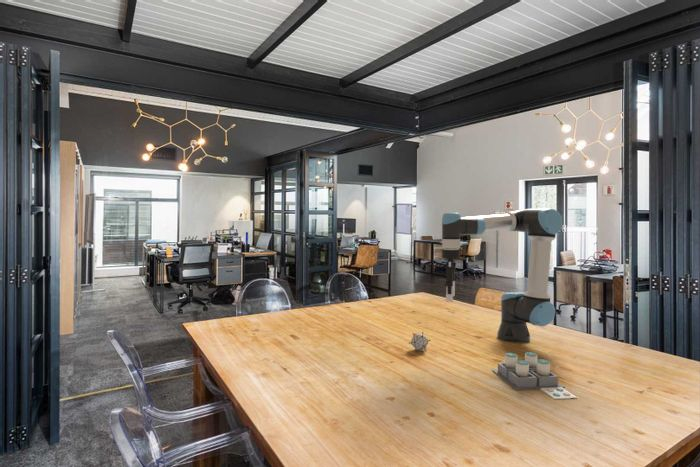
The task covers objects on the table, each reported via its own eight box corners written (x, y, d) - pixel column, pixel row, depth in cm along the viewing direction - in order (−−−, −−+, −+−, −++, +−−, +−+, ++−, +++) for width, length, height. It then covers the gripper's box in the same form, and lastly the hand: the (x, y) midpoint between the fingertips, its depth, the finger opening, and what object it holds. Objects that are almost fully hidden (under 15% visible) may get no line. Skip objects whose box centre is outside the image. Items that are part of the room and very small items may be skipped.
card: (561, 388, 141) (561, 386, 141) (577, 398, 133) (577, 396, 133) (540, 389, 140) (540, 387, 140) (554, 399, 132) (554, 397, 132)
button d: (533, 364, 156) (533, 351, 156) (539, 368, 151) (539, 355, 151) (522, 364, 155) (522, 352, 155) (528, 368, 151) (528, 356, 151)
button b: (513, 364, 155) (513, 352, 155) (519, 368, 151) (519, 356, 150) (502, 365, 155) (502, 352, 154) (508, 369, 150) (508, 356, 150)
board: (535, 369, 159) (535, 360, 159) (564, 388, 141) (564, 378, 141) (492, 370, 157) (492, 361, 157) (515, 390, 139) (516, 380, 139)
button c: (545, 371, 148) (545, 358, 148) (552, 376, 144) (552, 363, 143) (533, 372, 147) (534, 359, 147) (540, 376, 143) (541, 363, 143)
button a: (524, 372, 147) (524, 359, 147) (531, 377, 143) (531, 363, 143) (513, 373, 147) (513, 360, 146) (519, 377, 142) (519, 364, 142)
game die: (423, 359, 180) (430, 346, 174) (405, 351, 182) (411, 338, 176) (427, 345, 187) (433, 331, 181) (409, 337, 189) (416, 324, 183)
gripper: (444, 246, 184) (443, 292, 184) (439, 251, 160) (438, 303, 161) (461, 247, 181) (460, 293, 182) (458, 251, 158) (458, 305, 158)
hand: (450, 298), depth 171 cm, fingers open, 13 cm apart
